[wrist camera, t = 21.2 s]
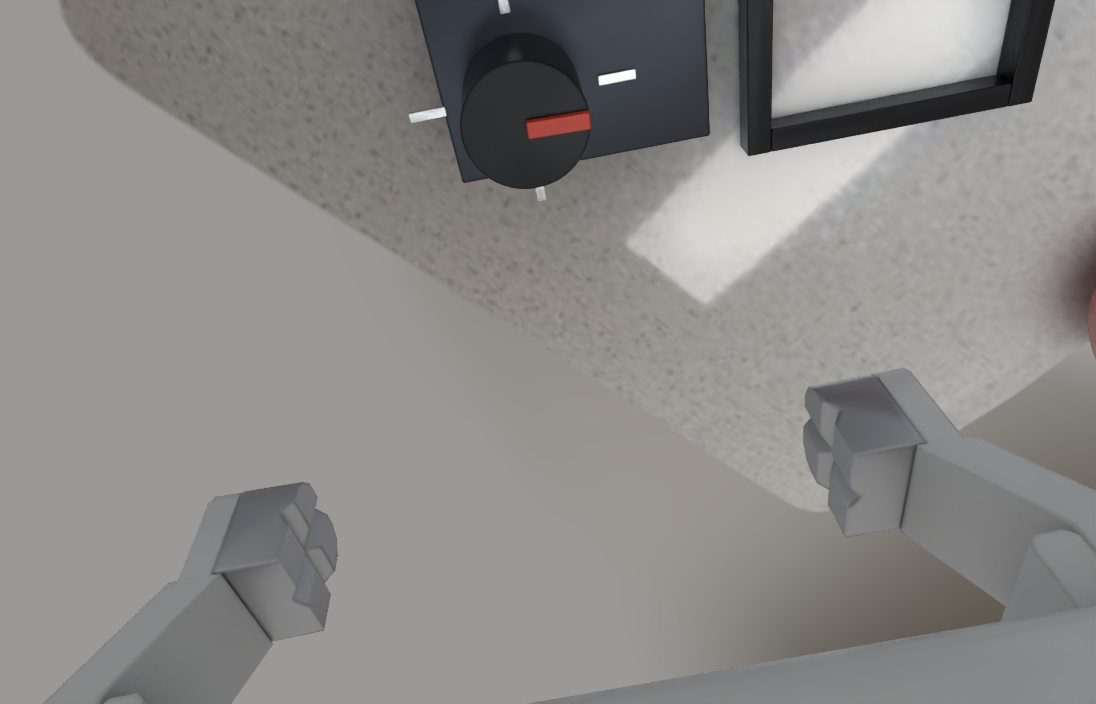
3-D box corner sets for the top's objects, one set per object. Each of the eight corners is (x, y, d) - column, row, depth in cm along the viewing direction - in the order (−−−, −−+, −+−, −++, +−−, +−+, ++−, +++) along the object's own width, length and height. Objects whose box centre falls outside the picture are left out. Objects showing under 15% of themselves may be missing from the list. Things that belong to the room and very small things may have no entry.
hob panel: (443, 188, 32) (439, 220, 30) (360, -106, 25) (346, -97, 23) (694, 139, 32) (712, 168, 29) (678, -174, 25) (700, -173, 22)
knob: (475, 160, 28) (474, 202, 25) (450, 44, 26) (445, 75, 23) (586, 142, 28) (598, 182, 25) (572, 23, 26) (584, 51, 23)
